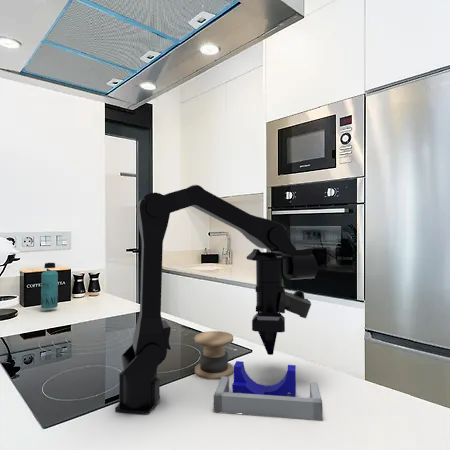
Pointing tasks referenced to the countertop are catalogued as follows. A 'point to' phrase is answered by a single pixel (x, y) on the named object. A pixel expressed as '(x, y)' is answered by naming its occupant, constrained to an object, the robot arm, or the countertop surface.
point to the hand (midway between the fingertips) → (270, 354)
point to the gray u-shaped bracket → (268, 403)
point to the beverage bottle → (49, 288)
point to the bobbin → (214, 355)
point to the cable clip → (250, 387)
